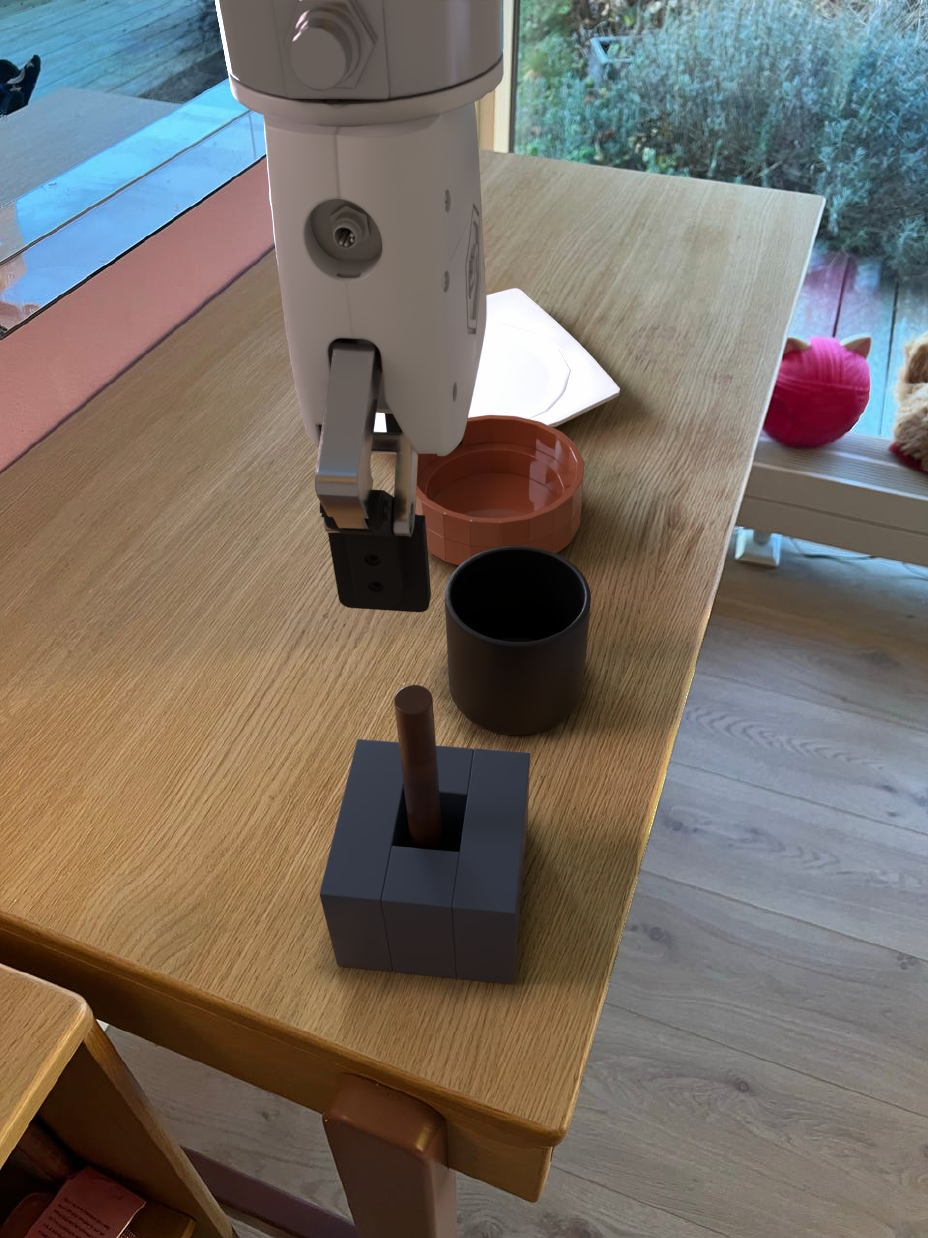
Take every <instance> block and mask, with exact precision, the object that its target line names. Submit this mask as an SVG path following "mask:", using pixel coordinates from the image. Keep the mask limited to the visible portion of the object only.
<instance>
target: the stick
mask: <svg viewBox="0 0 928 1238" xmlns="http://www.w3.org/2000/svg"><path fill="white" fill-rule="evenodd" d="M393 704H394V705H393V706H394V714H395V722H396V723H395V724H396V731H397V739H398V742H399V749H400V758H401V766H402V775H403V784H404V792H405V801H406V809H407V818H408V827H409V835H410V844H411V848H419V849H430V850H441V851H444V848H443V835H442V821H441V807H440V794H439V780H438V766H437V753H436V745H437V740H436V727H435V725H436V724H435V713H434V699H433V695H432V692H431V691H430V690H429V689H428V688H427V687H424V686H423V685H419V684H410V685H409V684H408V685H406V686H403V687H402V688H400V689H398V691H397V692H396V693H395V696H394V698H393Z"/></svg>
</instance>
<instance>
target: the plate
mask: <svg viewBox="0 0 928 1238" xmlns="http://www.w3.org/2000/svg"><path fill="white" fill-rule="evenodd" d="M486 298H487V318H486V329H485V336H484V342H483V347H482V352H481V358H480V363H479V368H478V373H477V378H476V383H475V388H474V392H473V397H472V402H471V406H470V411H469V415H468V418H469V417H477V416H484V415H505V416H518V417H522V418H526V419H531V420H535V421H539V422H542V423H544V424H546V425H548V426H550V427H552V428H557V427H558V426H561V425H563V424H565V423H567V422H569V421H570V420H571V421H572V420H573V419H575V418H577V417H579V416H581V415H583V414H585V413H587V412H589V411H591V410H593V409H595V408H597V407H600V406H601V405H603V404H605V403H608V402H609V401H611V400H614V399H615V398H617V397H619V395H620V393H621V388H620V387H619V386H618V384H617V383H616V382H615V381H614V379H612V377H611V376H610V375H609V374H608V373H607V372H606V370H605V369H604V368H603V367H602V365H600V364H599V363H598V362H597V360H596V358H594V357H593V356H592V355H591V354H590V353H589V352H588V350H586V349H585V348H584V347H583V346H582V345H581V344H580V342H579V341H578V340H577V339H576V338H574V336H573V335H571V333H569V331H567V330H566V329H565V328H564V327H563V326H562V325H561V324H560V323H558V322H557V320H555V319H554V318H553V317H552V316H551V315H550V314H548V312H546V310H544V309H543V308H542V307H541V306H540V305H538V304H537V303H536V302H535V301H534V300H533V299H532V298H530V297H529V296H528V295H527V294H526V293H525V292H524V291H522V290H521V288H516V287H514V288H509V289H505V290H502V291H498V292H494V293H491V294H486ZM374 432H387V431H386V421H385V413H376V419H375V427H374Z"/></svg>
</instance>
